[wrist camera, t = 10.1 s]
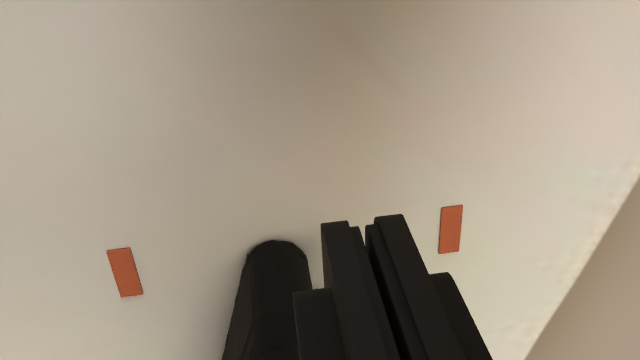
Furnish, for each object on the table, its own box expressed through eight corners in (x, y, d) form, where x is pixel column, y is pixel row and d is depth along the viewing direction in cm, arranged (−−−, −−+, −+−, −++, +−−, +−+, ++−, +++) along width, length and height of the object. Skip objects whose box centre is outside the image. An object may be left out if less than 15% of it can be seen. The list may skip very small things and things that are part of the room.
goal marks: (106, 250, 29) (106, 251, 29) (462, 204, 31) (462, 205, 31) (162, 423, 36) (162, 424, 36) (446, 378, 38) (447, 379, 38)
